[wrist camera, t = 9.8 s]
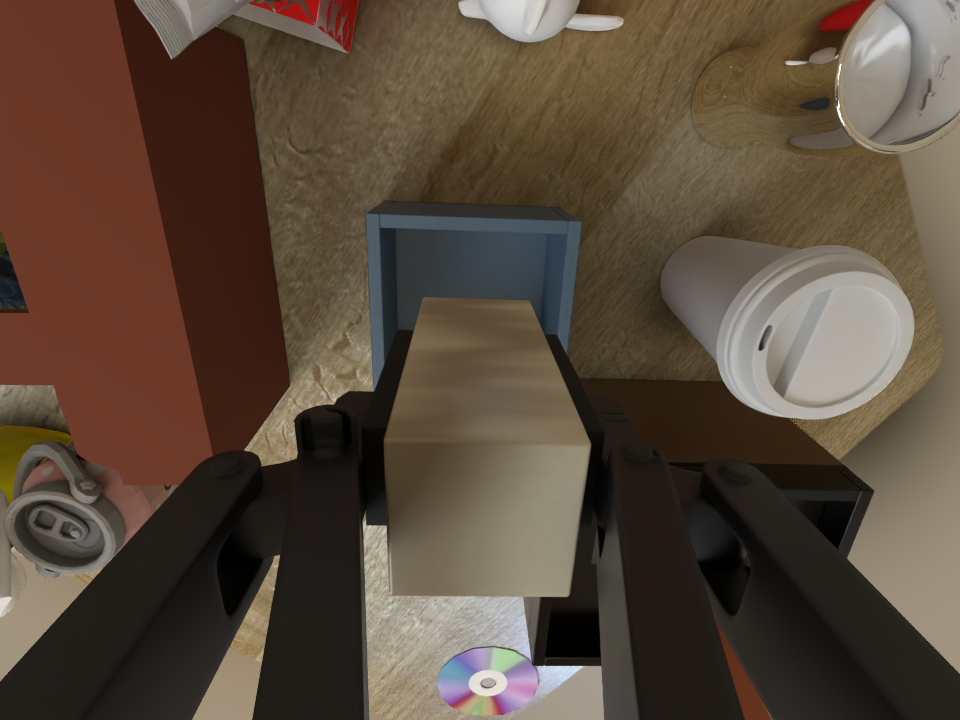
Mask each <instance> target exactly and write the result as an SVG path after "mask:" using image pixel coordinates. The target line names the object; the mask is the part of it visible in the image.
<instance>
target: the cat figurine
mask: <svg viewBox="0 0 960 720" xmlns="http://www.w3.org/2000/svg"><path fill="white" fill-rule="evenodd" d="M579 3H580V0H461V1H460V2H459V3H458V7H459V9H460V11H461V13H462V14H463V15H464V16H466V17H471V18H479V19H486V20H488V21H489V22H491V23H492V24H493V25H494V26H495V27H496V28H497V29H498V30H499V31H500V32H501V33H503V34H504V35H506V36H508V37H510V38H512V39H514V40H517V41H522V42H538V41H543V40H545V39H548V38H550V37H552V36H554V35H556V34H557V33H558V32H560V31H561V30H562V29H563V28H564V27H566V28H571V29H577V30H586V31H605V30H612V29H616V28H618V27H620V26H621V25H623V21H624V19H623V18H621V17H619V16H608V15H592V14H575V12H576V10H577V8H578V5H579Z"/></svg>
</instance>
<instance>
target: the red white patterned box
mask: <svg viewBox="0 0 960 720" xmlns="http://www.w3.org/2000/svg"><path fill="white" fill-rule="evenodd" d="M358 4H359V0H283V1H279V2H273V3H254V2H249V3H248V4H246V5H245V6H243V7H242V8H241V9H239V10H238V11H237V12H235V13H234V14H233V15H236V16H239V17H242V18H244V19H247V20H250V21H253V22H256V23H259V24H262V25H265V26H268V27H271V28H274V29H277V30H280V31H283V32H286V33H289V34H292V35H295V36H298V37H301V38H304V39H307V40H310V41H312V42H315V43H318V44H321V45H324V46H327V47H330V48H333V49H336V50H339V51H342V52H345V53H348V54H350V49H351V44H352V38H353V32H354V26H355V21H356V15H357V9H358Z"/></svg>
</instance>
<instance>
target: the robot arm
mask: <svg viewBox="0 0 960 720" xmlns="http://www.w3.org/2000/svg"><path fill="white" fill-rule="evenodd" d="M413 332H414V330H397V331H396V334H395V336H394V339H393V342H392V345H391V347H390V350H389V353H388V355H387V358H386V361H385V363H384V366H383V369H382V372H381V374H380V377H379V380H378V382H377V385H376V388H375V390H374V392H363V391H348V392H347V393H345V394H344V395H342V396H341V397H340V398H338V399H337V401H336V403H335V405H321V406H315V407H312V408H309V409H307V410H304V411H303V412H301V413H300V414H298V415H297V417H296V419H295V420H294V423H295V432H296V441H297V449H298V455H297V459H294V460H291V461H288V462H284V463H280V464H274V465H268V466H262V467H261V461H260V459H259V457H258V456H257V455H256V454H254V453H252V452H248V451H242V450H238V451H226V452H221V453H218V454H216V455H214V456H211V457H209V458H207V459H205V460H204V461H202V462H201V463H200V464H198V465H197V466H196V467H195V468H194V469H193V470H192V472H191V473H190V474H189V475H188V476H187V477H186V478H185V479H184V480H183V481H182V483H181V484H180V485H179V486H178V487H177V488H176V489H175V490H174V491H173V492H172V494H171V495H170V496H169V497H168V498H167V499H166V500H165V501H164V502H163V503H162V505H161V506H160V507H159V508H158V509H157V510H156V511H155V512H154V513H153V514H152V515H151V517H150V518H149V519H148V520H147V521H146V522H145V523H144V524H143V525H142V526H141V528H140V529H139V530H138V531H137V532H136V533H135V534H134V535H133V536H132V537H131V539H130V540H129V541H128V542H127V543H126V544H125V545H124V546H123V547H122V548H121V550H120V551H119V552H118V553H117V554H116V555H115V556H114V557H113V558H112V559H111V561H110V562H109V563H108V564H107V565H106V566H105V567H104V568H103V569H102V570H101V571H100V573H99V574H98V575H97V576H96V577H95V578H94V579H93V580H92V581H91V582H90V584H89V585H88V586H87V587H86V588H85V589H84V590H83V591H82V593H80V595H79V596H78V597H77V598H76V599H75V600H74V601H73V602H72V603H71V604H70V606H69V607H68V608H67V609H66V610H65V611H64V612H63V613H62V614H61V615H60V617H59V618H58V619H57V620H56V621H55V622H54V623H53V624H52V625H51V626H50V628H49V629H48V630H47V631H46V632H45V633H44V634H43V635H42V636H41V638H40V639H39V640H38V641H37V642H36V643H35V644H34V645H33V646H32V647H31V648H30V649H29V651H28V652H27V653H26V654H25V655H24V656H23V657H22V658H21V659H20V661H19V662H18V663H17V664H16V665H15V666H14V667H13V668H12V669H11V670H10V671H9V672H8V674H7V675H6V676H5V677H4V678H3V679H2V680H1V681H0V720H192V719H193V717H194V715H195V713H196V711H197V709H198V707H199V705H200V703H201V701H202V699H203V697H204V695H205V693H206V691H207V689H208V687H209V685H210V684H211V682H212V680H213V677H214V676H215V674H216V672H217V670H218V668H219V666H220V664H221V662H222V660H223V658H224V656H225V654H226V652H227V650H228V649H229V647H230V645H231V643H232V641H233V639H234V637H235V635H236V633H237V631H238V629H239V627H240V625H241V623H242V621H243V619H244V617H245V615H246V614H247V612H248V610H249V608H250V606H251V604H252V602H253V600H254V598H255V596H256V594H257V592H258V590H259V588H260V586H261V584H262V582H263V580H264V578H265V577H266V575H267V573H268V571H269V569H270V567H271V565H272V563H273V559H274V556H276V555H280V560H279V566H278V572H277V578H276V584H275V590H274V596H273V601H272V607H271V613H270V619H269V625H268V631H267V637H266V642H265V648H264V654H263V660H262V666H261V672H260V678H259V684H258V689H257V695H256V701H255V707H254V713H253V719H252V720H369V698H368V667H367V636H366V605H365V574H364V543H363V524H362V521H363V517H364V514H365V510H366V525H387V521H386V495H385V470H384V444H383V441H384V437H385V434H386V430H387V426H388V423H389V419H390V415H391V412H392V408H393V405H394V401H395V397H396V394H397V390H398V387H399V383H400V379H401V376H402V372H403V368H404V365H405V361H406V358H407V354H408V350H409V347H410V343H411V340H412V336H413ZM544 335H545V338H546V340H547V342H548V345H549V347H550V349H551V352H552V354H553V356H554V359H555V361H556V363H557V366H558V368H559V370H560V373H561V375H562V377H563V380H564V382H565V384H566V387H567V389H568V391H569V394H570V396H571V398H572V401H573V403H574V405H575V408H576V410H577V412H578V415H579V417H580V419H581V422H582V424H583V426H584V429H585V431H586V433H587V436H588V438H589V440H590V443H591V451H590V458H589V465H588V472H587V479H586V486H585V493H584V499H583V506H582V513H581V520H580V527H579V528H591V521H592V515H593V509H594V512H595V515H596V518H597V521H598V525H597V531H596V537H595V543H594V550H593V556H592V562H591V564H596V565H597V585H598V605H599V625H600V645H601V665H602V684H603V703H604V720H745V718H744V715H743V712H742V708H741V705H740V701H739V698H738V695H737V691H736V688H735V685H734V681H733V678H732V675H731V671H730V668H729V665H728V661H727V658H726V655H725V651H724V648H723V645H722V641H721V638H720V634H719V631H718V628H717V624H716V622H717V623H718V625H719V627H720V629H721V630H722V632H723V634H724V636H725V637H726V639H727V641H728V643H729V644H730V646H731V648H732V649H733V651H734V653H735V655H736V656H737V658H738V660H739V662H740V663H741V665H742V667H743V669H744V670H745V672H746V674H747V676H748V677H749V679H750V681H751V683H752V684H753V686H754V688H755V689H756V691H757V693H758V695H759V696H760V698H761V700H762V702H763V703H764V705H765V707H766V709H767V710H768V712H769V714H770V716H771V717H772V719H773V720H960V674H959V673H958V672H957V671H956V670H955V669H954V668H953V667H952V666H951V665H950V664H949V663H948V661H946V659H944V657H943V656H942V655H941V654H940V653H939V652H938V651H937V650H936V649H935V648H934V647H933V646H932V645H931V644H930V643H929V642H928V641H927V640H926V639H925V638H924V637H923V636H922V635H921V634H920V633H919V632H918V631H917V630H916V629H915V628H914V627H913V626H912V625H911V624H910V623H909V622H908V621H907V620H906V619H905V618H904V617H903V616H902V615H901V614H900V613H899V612H898V611H897V609H896V608H895V607H894V606H892V604H891V603H890V602H889V601H888V600H887V599H886V598H885V597H884V596H883V595H882V594H881V593H880V592H879V591H878V590H877V589H876V588H875V587H874V586H873V585H872V584H871V583H870V582H869V581H868V580H867V579H866V578H865V577H864V576H863V575H862V574H861V573H860V572H859V571H858V570H857V569H856V568H855V567H854V566H853V565H852V564H851V563H850V562H849V560H848V559H847V558H846V557H845V556H844V555H843V554H842V553H841V552H840V551H839V550H838V549H837V548H836V547H835V546H834V545H833V544H832V543H831V542H830V541H829V540H828V539H827V538H826V537H825V536H824V535H823V534H822V533H821V532H820V531H819V530H818V529H817V528H816V527H815V526H814V525H813V524H812V523H811V522H810V521H809V520H808V519H807V518H806V517H805V516H804V515H803V514H802V513H801V512H800V510H799V509H798V508H797V507H796V506H795V505H794V504H793V503H792V502H791V501H790V500H789V499H788V498H787V497H786V496H785V495H784V494H783V493H782V492H781V491H780V490H779V489H778V488H777V487H776V486H775V485H774V484H773V483H772V482H771V481H770V480H769V479H768V478H767V477H766V476H765V475H764V474H763V473H762V472H761V471H759V470H758V469H757V468H755V467H754V466H752V465H749V464H747V463H746V462H744V461H741V460H736V459H734V458H724V457H718V458H711V459H709V460H708V461H706V462H705V464H704V468H703V472H702V473H700V472H695V471H690V470H686V469H681V468H677V467H673V466H670V465H669V464H668V460H667V458H666V456H665V455H664V453H663V452H662V451H660V450H659V449H658V448H656V447H654V446H652V445H650V444H647V443H644V442H642V441H641V439H640V438H639V436H638V434H637V433H636V431H635V429H634V428H633V426H632V424H631V423H629V419H628V418H627V416H626V415H625V413H624V411H623V409H622V408H621V406H620V404H618V403H617V402H616V401H614V400H613V399H611V398H610V397H609V396H596V395H587V394H586V392H585V390H584V388H583V386H582V384H581V382H580V380H579V378H578V376H577V374H576V372H575V370H574V368H573V366H572V364H571V362H570V360H569V358H568V356H567V354H566V352H565V350H564V348H563V346H562V344H561V342H560V340H559V338H558V336H557V334H544ZM746 553H747V554H748V557H747V556H746ZM748 558H749V559H748ZM715 620H716V621H715Z"/></svg>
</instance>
